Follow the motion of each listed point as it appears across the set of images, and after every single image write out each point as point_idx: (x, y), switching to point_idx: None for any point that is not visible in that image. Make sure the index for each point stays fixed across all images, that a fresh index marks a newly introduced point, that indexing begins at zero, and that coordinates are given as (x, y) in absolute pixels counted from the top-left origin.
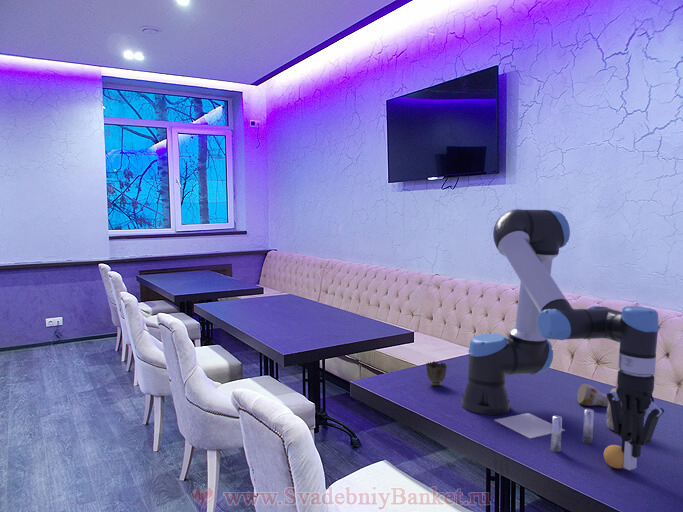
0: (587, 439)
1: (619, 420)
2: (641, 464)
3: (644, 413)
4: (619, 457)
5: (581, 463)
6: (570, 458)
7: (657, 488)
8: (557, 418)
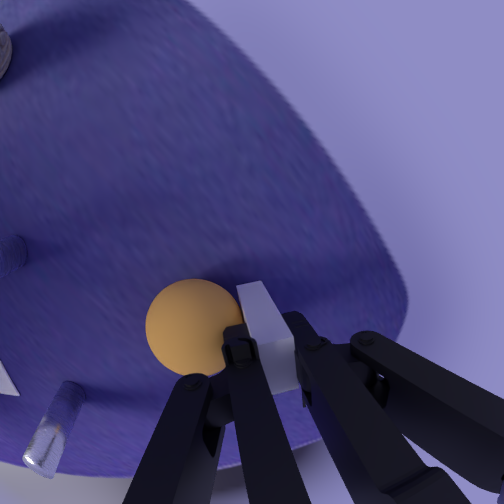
0: (16, 267)
1: (204, 473)
2: (197, 182)
3: (441, 485)
4: None
5: (154, 387)
6: (121, 392)
7: (348, 279)
8: (50, 476)
